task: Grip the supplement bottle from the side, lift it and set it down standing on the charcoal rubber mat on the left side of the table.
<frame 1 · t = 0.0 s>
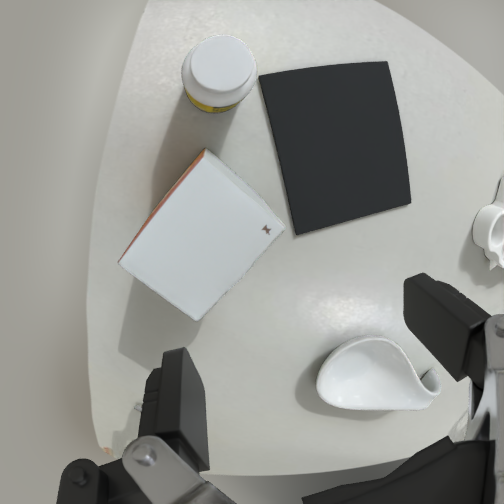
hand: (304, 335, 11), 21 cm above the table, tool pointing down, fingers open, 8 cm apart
small box: (202, 200, 30), on the table
spoon rest: (380, 365, 41), on the table
mat: (344, 142, 29), on the table
supplement bottle: (215, 86, 26), on the table
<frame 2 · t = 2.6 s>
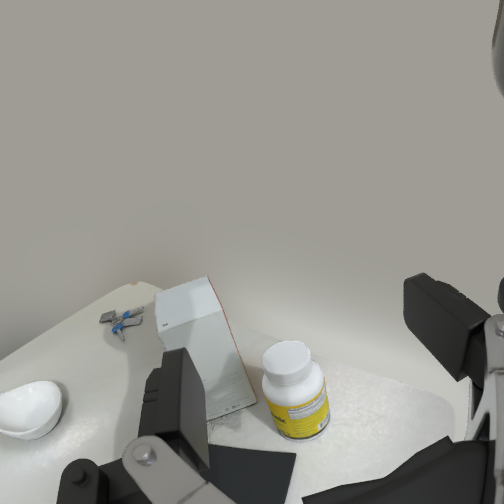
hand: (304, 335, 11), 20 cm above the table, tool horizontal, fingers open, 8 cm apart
small box: (224, 391, 35), on the table
spoon rest: (16, 436, 30), on the table
mat: (194, 503, 21), on the table
key chain: (125, 320, 56), on the table
supplement bottle: (303, 423, 28), on the table
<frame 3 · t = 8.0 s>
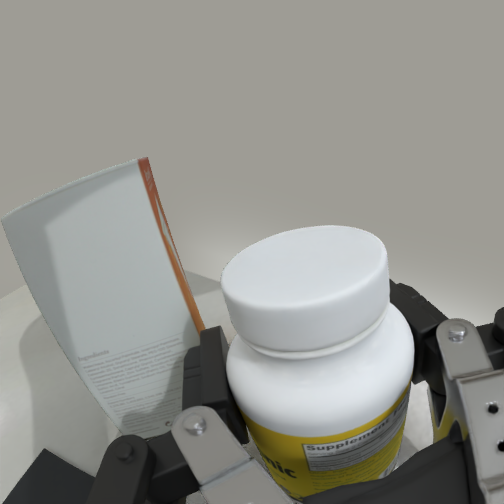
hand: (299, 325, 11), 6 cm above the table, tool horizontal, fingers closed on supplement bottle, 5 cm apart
small box: (174, 386, 18), on the table
supplement bottle: (334, 462, 11), on the table, touching gripper
when the fingers open (6 cm above the table, at t = 15.6 s): supplement bottle stays where it is, resting on mat.
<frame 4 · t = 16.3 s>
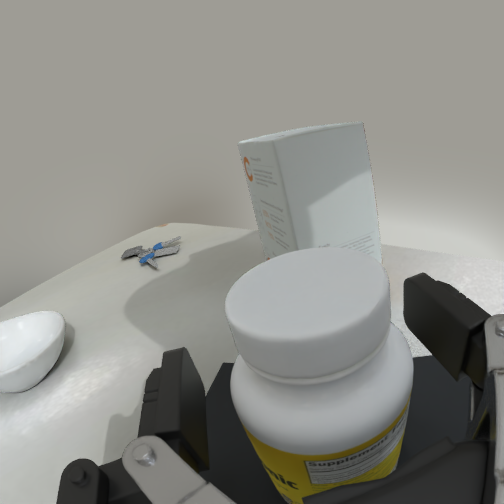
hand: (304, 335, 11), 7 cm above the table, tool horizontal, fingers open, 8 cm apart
small box: (325, 298, 25), on the table
mat: (334, 470, 11), on the table
key chain: (157, 252, 46), on the table
supplement bottle: (335, 470, 11), resting on mat
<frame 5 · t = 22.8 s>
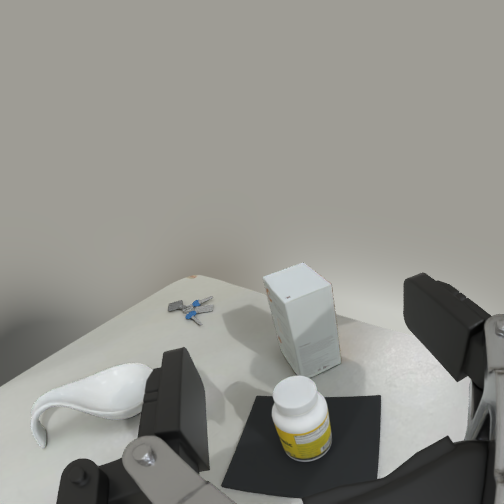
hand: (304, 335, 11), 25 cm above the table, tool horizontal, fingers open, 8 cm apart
small box: (310, 357, 44), on the table
spoon rest: (100, 418, 40), on the table
mat: (307, 444, 30), on the table
key chain: (195, 308, 65), on the table
supplement bottle: (308, 444, 30), resting on mat
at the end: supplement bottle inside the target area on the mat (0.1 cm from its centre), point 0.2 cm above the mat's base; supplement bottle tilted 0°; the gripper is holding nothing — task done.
